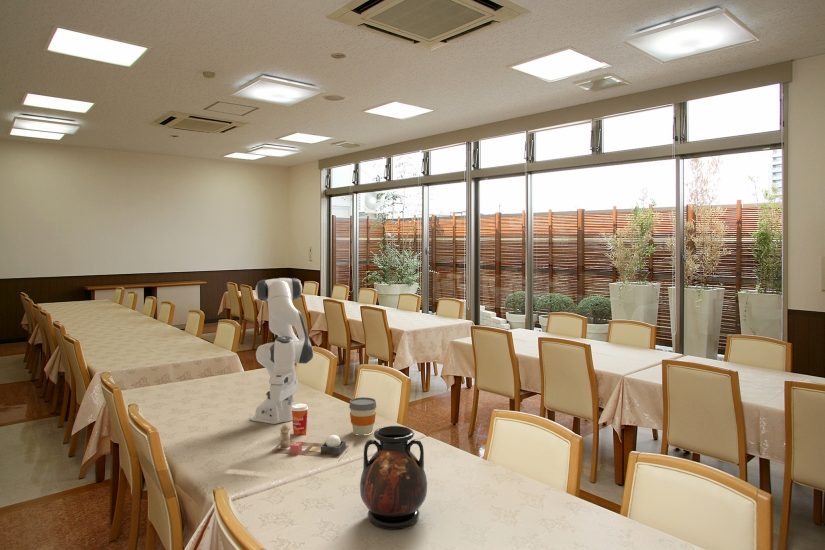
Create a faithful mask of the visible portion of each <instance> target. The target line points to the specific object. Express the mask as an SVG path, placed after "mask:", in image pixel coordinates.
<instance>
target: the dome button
mask: <svg viewBox="0 0 825 550" xmlns="http://www.w3.org/2000/svg"><path fill="white" fill-rule="evenodd" d="M326 438H327V439H326V440H325V442H326V445H327V447H337V448H339V446H340V444H341V441H342V440H341V438H340V437H339V436H338V435H336V434H331V435H329V436H328V437H326Z"/></svg>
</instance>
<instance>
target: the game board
mask: <svg viewBox="0 0 825 550" xmlns="http://www.w3.org/2000/svg"><path fill="white" fill-rule="evenodd" d="M293 442H296V441H295V440H294V441H293V440H290V445H291V444H292V443H293ZM297 442H298V443H302V452H301V453H300V454H299V455H298V454H290V447H289V448H281V447H280V443H279V444H277V445H276V446H275V447H274V448H272V450H270V451H269V452H268V453H269V454H282V455H291V456H292V455H293V456H304V457H305V456H306V457H317V458H318V457H319V458H327V459H329V458H331V459H339V458H341V457H342V456H343V453H344V452H346V451H347V450H348V449H349V445H347V444H346V441H345V440H341V444H340V446H339V448H337V447H327V445H326V441H325V442H324V443H318V442H308V441H307V442H306V441H297ZM339 461H340V460H338V462H339ZM338 462H337V463H338Z"/></svg>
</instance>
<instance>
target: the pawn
mask: <svg viewBox="0 0 825 550" xmlns="http://www.w3.org/2000/svg"><path fill="white" fill-rule="evenodd" d="M290 430H291V428H290V426H289V425H288V424H283V425H282V426H281V427H280V432H279V433H280V434H279V435H280V443H279V444H280V447H281V448H289V447H290V441H291V431H290Z"/></svg>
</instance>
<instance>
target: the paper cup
mask: <svg viewBox="0 0 825 550" xmlns="http://www.w3.org/2000/svg"><path fill="white" fill-rule="evenodd" d="M291 410H292V420H291V421H292V429H293V430H292V431H293V436H294V435H297V436H307V429H308V427H307V426H308V424H307V423H308V410H309V407H308V405H307V404H305V403H296V404H294V405H293V406H292V408H291Z"/></svg>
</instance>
